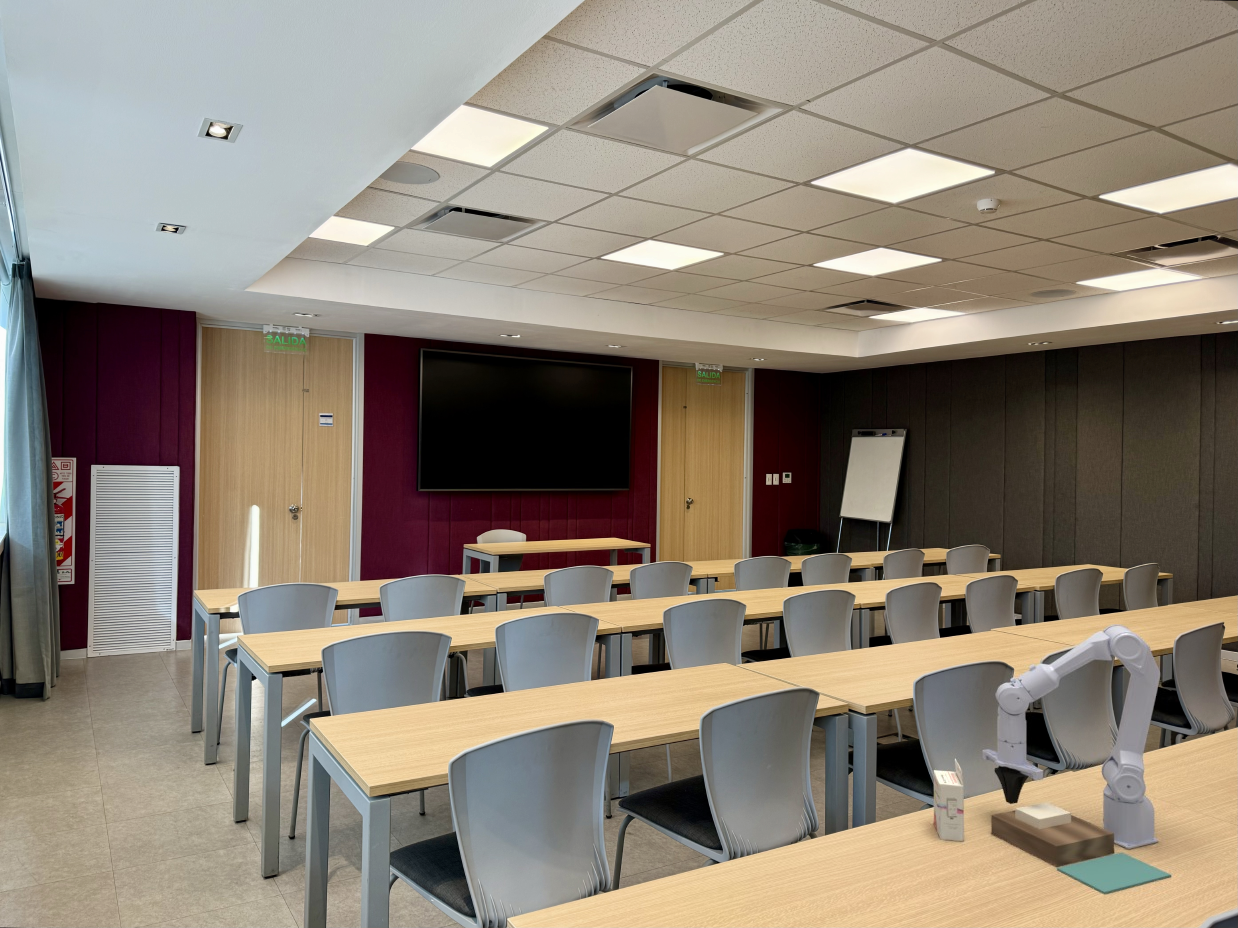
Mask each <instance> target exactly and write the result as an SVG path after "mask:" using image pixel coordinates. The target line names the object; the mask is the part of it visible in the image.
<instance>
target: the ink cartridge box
mask: <svg viewBox="0 0 1238 928" xmlns="http://www.w3.org/2000/svg"><path fill="white" fill-rule="evenodd" d="M954 766H955V767H954V768H955V771H949V770H935V769H934V770H933V824H934V827H935V829H936V831H937V834H938V836H939V839H940V840H941V841H942V840H943V841H945V840H946V841H956V842H964V841H965V828H964V827H965V820H964V819H965V817H964V815H965V813H964V812H965V809H964V808H965V805H964V804H965V803H964V802H965V801H964V799H965V798H964V796H965V795H964V792H965V791H964V790H965V789H964V787H965V786H964V777H963V770H962V768H961V766H960V764H959V763H958V760H957V759H956V758H954Z"/></svg>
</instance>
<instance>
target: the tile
mask: <svg viewBox="0 0 1238 928" xmlns="http://www.w3.org/2000/svg"><path fill="white" fill-rule="evenodd" d="M1014 810H1015V818H1016V819H1019V820H1021V821H1023V822H1025V823H1027V824H1029V825H1031V826H1034V827H1036V828H1038V829H1043V828H1048V827H1052V826H1057V825H1062V824H1067V823H1071V815H1072V812H1070V811H1067V810H1065V809H1063V808H1061V807H1059V806H1056V805H1053V804H1052V803H1049V802H1047V801H1045V802H1041V803H1037V804H1030V805H1026V806H1020V807H1015V808H1014Z"/></svg>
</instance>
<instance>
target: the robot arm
mask: <svg viewBox="0 0 1238 928" xmlns="http://www.w3.org/2000/svg"><path fill="white" fill-rule="evenodd" d="M1111 655H1112V656H1114V657H1115V658H1116V659H1117V660H1119V661H1120V663H1122V665H1123V666H1124V667H1125V668H1126V670H1127V671H1128V672H1129V674H1130V676H1129V680H1128V686H1127V689H1126V690H1127V691H1126V695H1125V700H1124V705H1123V709H1122V713H1121V717H1120V718H1121V719H1120V723H1119V726H1118V731H1117V735H1116V741H1115V745H1114V746H1113V748H1111V750H1110V753H1109V756H1108V758H1107V759H1105V761H1104V762H1103V764H1102V766H1101V775H1102V777H1103V779H1104V780H1105V782H1106V785H1105V787H1104V788H1103V789H1102V790H1103V791H1102V793H1103V794H1102V795H1103V796H1102V798H1103V801H1102V802H1103V803H1102V804H1103V805H1102V807H1103V811H1102V812H1103V813H1102V814H1103V816H1102V817H1103V819H1102V821H1103V823H1102V825H1103V829H1105V830H1107V831H1110V832H1112V833H1114V844H1116V845H1118V846H1120V847H1122V848H1124V849H1133V848H1137V847H1142V846H1146V845H1150V844H1155V843H1158V842H1159V839H1158V838H1156V837H1155V808H1154V805H1153V803H1152V801H1151V799H1150V798H1148V797H1147V796H1146V795H1145V793H1146V791H1147V786H1146V783H1145V780H1144V774H1145V764H1144V751H1145V748H1146V744H1147V743H1146V742H1147V739H1148V738H1147V737H1148V734H1149V729H1150V725H1151V721H1152V716H1153V711H1154V706H1155V702H1156V698H1157V697H1156V696H1157V694H1158V687H1159V683H1160V678H1161V672H1160V669H1159V666H1158V665H1157V662H1156V660H1155V658H1154V656H1153V655H1154V654H1153V653H1152V650H1151V646H1150V645H1149V644H1148V643H1147V642H1145V640H1144V639H1143V638H1142V637H1141V636H1140V635H1139V634H1137V633H1135V632H1133V631H1131V629H1130V628H1128V627H1126V626H1125V625H1122V624H1112V625H1109V626H1107V627H1106V628H1104V630H1103V631H1102V630H1099V631H1097V632H1095V633H1094V634H1092V635H1091V636H1090V637H1088V638H1087V639H1085V640H1084V641H1083V642H1081V643H1079V644H1078V645H1077V646H1075V647H1073V648H1072V649H1071V650H1069V651H1068V652H1066V653H1065V654H1063V655H1062V656H1061V657H1059V658H1058V659H1057V658H1056V660H1055V661H1053V662H1051V663H1050V664H1046V663H1038V664H1037V665H1035V663H1033V664H1031V665H1029V666H1028V668H1029V670H1027V671H1026V672H1024V673H1022V674H1021V675H1019V676H1017V677H1015V676H1014V677H1011V678H1010V682H1005V683H1002V684H1000V685H999V686H998V687H997V690H996V692H995V699H996V701H997V703H999V704H998V708H997V717H996V719H997V722H996V723H997V726H996V728H997V732H996V734H997V735H996V736H997V745H996V746H997V749H996V750H997V751H995V750H992V749H989V748H988V749H983V750H982V759H983V761H990V762H993V763H994V764H995V765H996V766H998V767H995V768H994V773H995V775H996V777H997V778H998V780H999V783H1000V786H1001V789H1002V791H1003V794H1004V795H1003V796H1004V799H1005V802H1006V803H1007V804H1010V805H1013V804H1018V801H1019V798H1020V794H1021V792H1022V789H1023V787H1024V785H1025V783H1026V781H1027V780H1028V778H1029V777H1030V778H1032V780H1034V781H1036V782H1037V781H1043V780H1044V770H1043V769H1040V768H1038V767H1037V766H1035V765H1034V764H1033V763H1030V762H1029V761H1028V760H1027V720H1026V712H1027V710H1028V708H1029V706H1030V703H1034V702H1035V701H1037V700H1039V699H1040V698H1042V697H1043V696H1044V697H1045V696H1046V695H1047V694H1049V693H1050V692H1052V691H1053V690H1055V689H1057V688H1058V687H1059V685H1060V680H1061V678H1063V677H1065V676H1066V675H1069V674H1071V673H1073V672H1074V671H1076V670H1077V669H1079V668H1081V667H1083V666H1085V665H1086V664H1089V663H1090V662H1092V661H1094V660H1097V661H1113V658H1112V656H1111Z"/></svg>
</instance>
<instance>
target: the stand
mask: <svg viewBox="0 0 1238 928" xmlns="http://www.w3.org/2000/svg"><path fill="white" fill-rule="evenodd" d="M990 818H991V820H990V823H991V826H990V827H991V831H990V834H991V835H993V836H994V837H996V838H999V839H1001V840H1003V841H1005V842H1007V843H1008V844H1010V845H1013V846H1015V847H1016V848H1019V849H1020V850H1023V851H1024V852H1026V853H1028V854H1030V855H1032V856H1034V857H1036V858H1038V859H1040V860H1041V861H1043V862H1046V863H1048V864H1050V865H1052V866H1054V867H1056V868H1059V867H1063V866H1067V865H1071V864H1075V863H1080V862H1084V861H1088V860H1092V859H1096V858H1101V857H1105V856H1109V855H1113V854H1115V843H1114V833H1112V832H1110V831H1107V830H1105V829H1103V828H1102V827H1100V826H1098V825H1097V824H1094V823H1091V822H1088V821H1086V820H1085V819H1082V818H1079V817H1077V816H1075V815H1073V814H1071V823H1067V824H1062V825H1057V826H1052V827H1048V828H1043V829H1038V828H1036V827H1034V826H1031V825H1029V824H1027V823H1025V822H1023V821H1021V820H1019V819H1016V818H1015V809H1014V810H1011V811H1005V812H1004V811H1003V812H1000V813H994V814H991V817H990Z"/></svg>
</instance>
